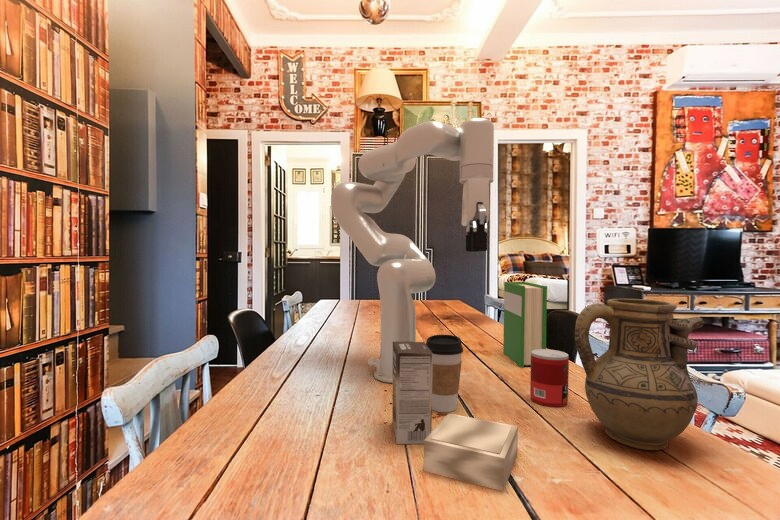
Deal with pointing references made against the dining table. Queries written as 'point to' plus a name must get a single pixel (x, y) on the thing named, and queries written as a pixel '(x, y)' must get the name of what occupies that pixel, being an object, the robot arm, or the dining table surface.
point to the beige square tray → (472, 450)
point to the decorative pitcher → (639, 371)
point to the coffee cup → (445, 371)
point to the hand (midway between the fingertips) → (475, 251)
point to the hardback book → (524, 320)
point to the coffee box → (412, 392)
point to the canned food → (549, 377)
